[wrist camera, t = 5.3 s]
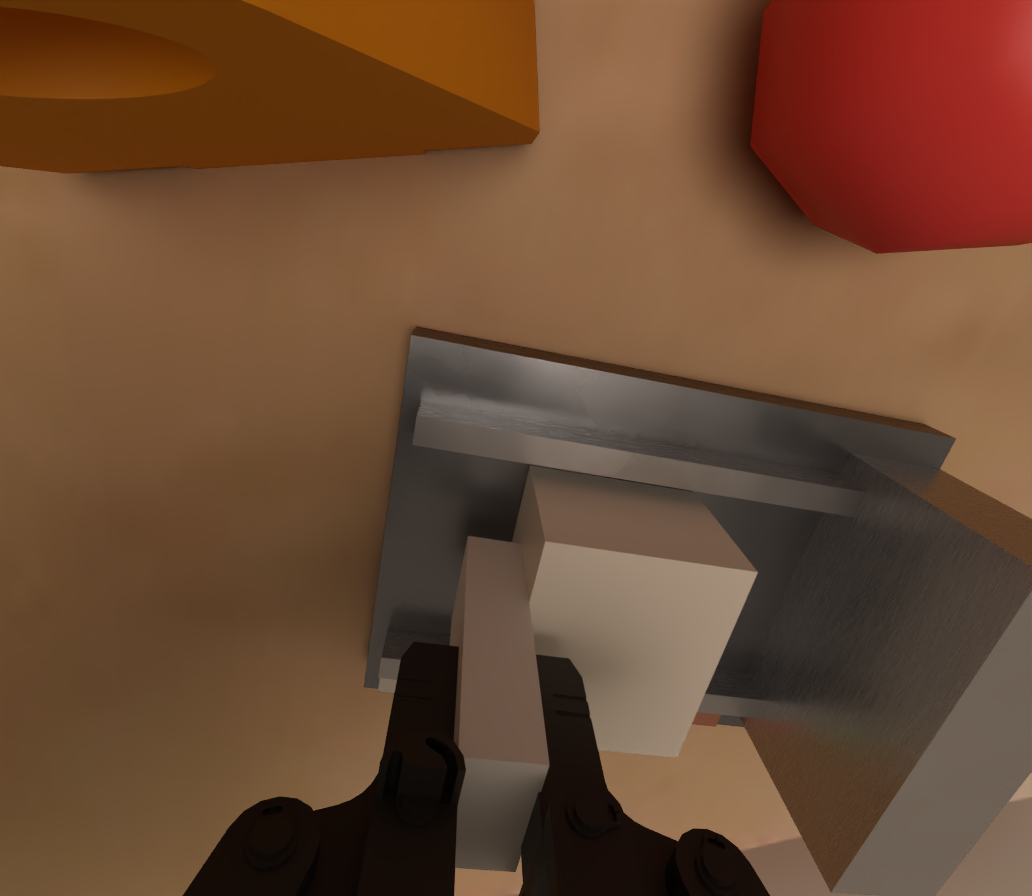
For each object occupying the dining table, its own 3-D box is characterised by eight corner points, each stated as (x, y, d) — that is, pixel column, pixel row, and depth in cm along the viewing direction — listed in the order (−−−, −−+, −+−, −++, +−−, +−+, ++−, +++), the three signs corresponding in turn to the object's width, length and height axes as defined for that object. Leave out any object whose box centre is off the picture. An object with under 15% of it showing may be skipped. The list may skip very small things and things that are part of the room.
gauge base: (370, 660, 20) (314, 887, 13) (416, 326, 15) (366, 409, 9) (781, 706, 22) (915, 921, 15) (925, 424, 17) (1202, 552, 11)
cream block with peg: (475, 696, 19) (474, 813, 15) (529, 465, 16) (545, 541, 12) (615, 711, 19) (646, 826, 16) (694, 492, 16) (758, 572, 13)
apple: (1007, -207, 12) (1897, -928, 4) (1037, 170, 15) (1601, 119, 7) (660, -15, 13) (914, -347, 5) (754, 304, 16) (1000, 379, 8)
